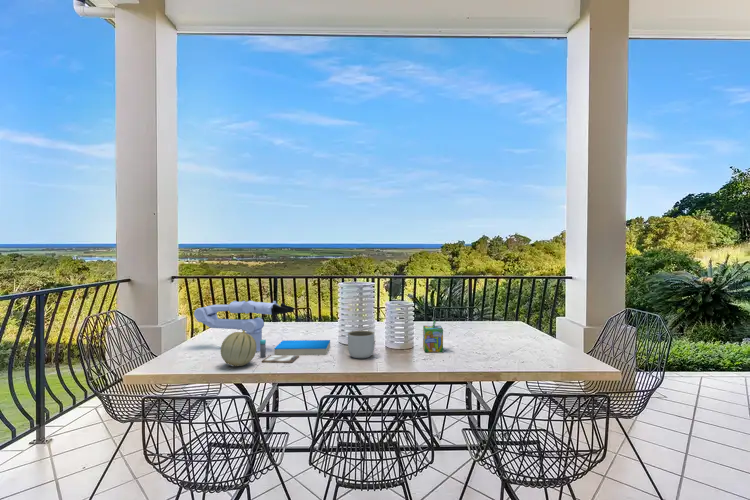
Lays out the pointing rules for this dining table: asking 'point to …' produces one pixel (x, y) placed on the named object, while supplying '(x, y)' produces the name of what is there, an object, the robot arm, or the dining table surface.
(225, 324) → the robot arm
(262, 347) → the marker
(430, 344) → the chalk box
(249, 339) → the cantaloupe
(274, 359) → the clipboard
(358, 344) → the planter
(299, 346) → the book
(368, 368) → the dining table surface
